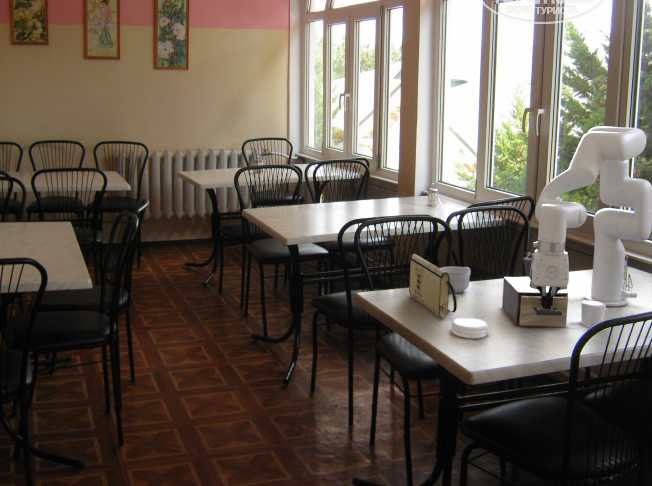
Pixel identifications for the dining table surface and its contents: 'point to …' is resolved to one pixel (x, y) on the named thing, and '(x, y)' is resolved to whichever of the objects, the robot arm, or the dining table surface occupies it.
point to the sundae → (528, 261)
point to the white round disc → (469, 328)
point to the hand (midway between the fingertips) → (546, 307)
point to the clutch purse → (430, 286)
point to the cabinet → (519, 296)
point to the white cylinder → (592, 312)
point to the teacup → (458, 277)
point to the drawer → (543, 311)
